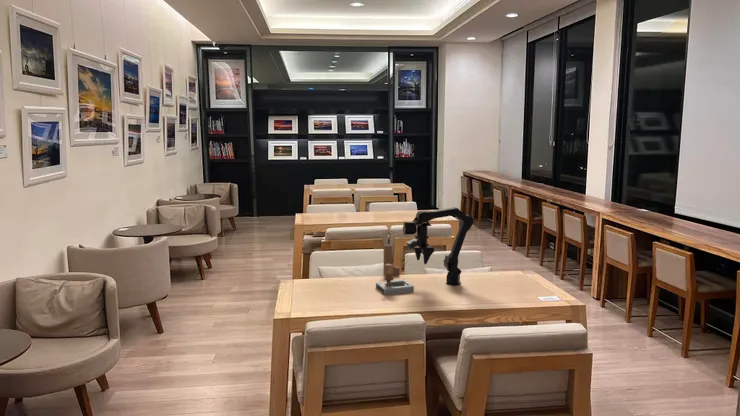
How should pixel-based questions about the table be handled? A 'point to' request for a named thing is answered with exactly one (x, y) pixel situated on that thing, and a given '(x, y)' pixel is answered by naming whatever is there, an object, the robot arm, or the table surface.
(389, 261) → the wooden block
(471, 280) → the table surface
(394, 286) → the keyhole plate
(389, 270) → the headed peg
